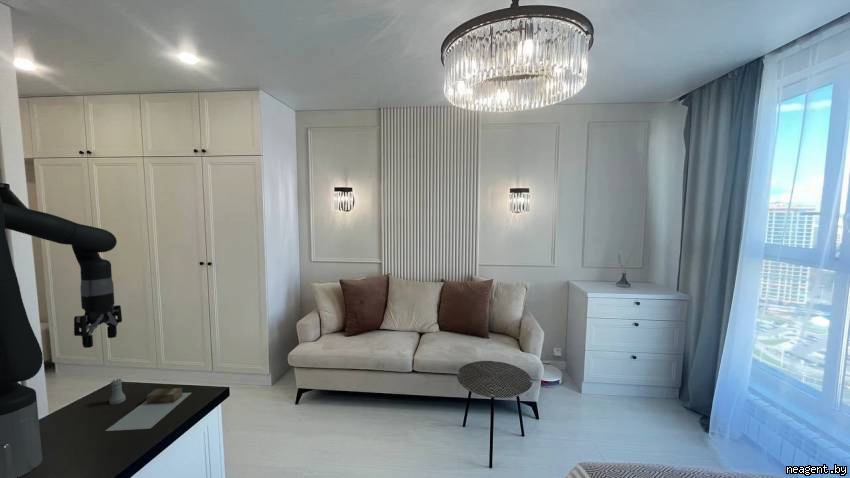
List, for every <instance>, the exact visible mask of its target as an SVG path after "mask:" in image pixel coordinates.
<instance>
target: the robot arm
mask: <svg viewBox="0 0 850 478" xmlns="http://www.w3.org/2000/svg"><path fill="white" fill-rule="evenodd" d="M6 229H7V230H10V231H15V232H18V233H21V234H25V235H27V236H32V237H35V238H39V239H41V240H45V241H49V242H53V243H56V244H61V245H71V247H72V252H73V254H74V256H75V259H76V261H77V263H78V265H79V267H80V287H79V288H80V301H81V302H80V303H81V304H80V305H81V309H82V310H83V311H84V315H76V316H74V318H73V323H74V324H73V336H75V337H81V341H82V344H81V345H82V346H83V348H85V349H87V348H89V349H90V348H92V347H93V346H94V341H93V340H94V336H93V333H94V331H95V329H97V328H98V326H100V325H102V324H105V325H106V326H107V327H106V330H107V333H106V334H107V338H108V339H113V338H116V337H117V335H118V332H117V331H118V329H117V327H118V326H119V324H120V323H122V322H123V317H122V316H123V315H122V308H121V305H116V304H115V290H114V288H115V287H114V282H113V281H114V280H113V275H112V264H111V262H110V260H108V259H104V258H102V257H101V256H100V254H99V253H107V252H110V251H112V250H114V248H115V247H116V245H117V244H118V241H117V238H116V236H115V234H113V233H112V232H110V231H108V230H107V229H105V228H104V229H103V228H100V227H96V226H91V225H86V224H82V223H77V222H75V221H72V220H70V219H67V218H63V217H60V216H57V215H55V214H51V213H48V212H43V211H39V210H34V209H31V208H25V207H20V206H17V205H13V204H9V203H6V202H3V201H2V197H1V196H0V478H17V477H18V478H20V477H23V476H24V475H26V474H28V473H30V472H32V471H34V470H35V469H36V468H37V467H38V466H39V465H40V464H41V463H42V462H43V454H42V452H43V451H42V442H41V431H40V420H39V407H38V400H37V398H38V397H37V391H36V390H35V388H32V387H29V386H26V385H23V384H21V383H20V382H25V381H28V380H31V379H32V378H34V377H35V376H36V375H37V374H38V373H39V371H40V370H41V369H42V365H43V360H44V357H43V351H42V348H41V346H40V343H39V341H38V339H37V336H36V333H34V330H33V327H32V325H31V323H30V320H29V318H28V314H27V311H26V308H25V304H24V302H23V297H22V294H21V288H20V284H19V280H18V276H17V273H16V270H15V267H14V263H13V259H12V255H11V251H10V246H9V244H8V239H7V233H6V232H7V231H6Z"/></svg>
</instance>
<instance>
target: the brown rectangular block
mask: <svg viewBox="0 0 850 478" xmlns="http://www.w3.org/2000/svg"><path fill="white" fill-rule="evenodd" d="M182 393H183V388H182V387H174V388H173V387H172V388H169V387H168V388H155V389H153V390H152V391H151V392H150V393H148V394H147V395H146V396H145V397H146V398H145V399H146V400H147V404H158V403H174V402H176V401H177V400H178V399H179V398H180V397H182Z"/></svg>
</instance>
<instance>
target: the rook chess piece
mask: <svg viewBox="0 0 850 478" xmlns="http://www.w3.org/2000/svg"><path fill="white" fill-rule="evenodd" d="M122 383H123V380H122V378H117V379H116V378H115V379H113V380H111V381H110V384H109V386H111V396H110V398H109V400H108V401H109V403H108V404H109V405H116V404H122V403H123V402H124V401H126V399H127V398H126V395H125V393H124V392H123V389H122V387H123V385H122Z"/></svg>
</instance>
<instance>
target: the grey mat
mask: <svg viewBox="0 0 850 478" xmlns="http://www.w3.org/2000/svg"><path fill="white" fill-rule="evenodd" d="M191 394H192V392H182V397H180V398H179V399H178V400H177V401H176V402H174V403H158V404H147V399H146V400H145V401H144V402H142V403H141V404H139V405H138V406H137V407H135V408H134V409H132V410H131V411H130V412H129V413H127V414H126V415H125V416H123V417H121V419H119V420H117V422H115V423H114V424H112V425H111V426H110V427H109V428H106V430H105V432H111V431H114V432H115V431H128V430H129V431H130V430H131V431H132V430H133V431H134V430H147V429H148V430H150V429H151V428H153V427H154V426H155V425H156V424H157V423H159V422H160V421H161V420H162V419H163V418H165V417H166V416H167V415H168V414H169V413H170V412H172V411H173V410H174V409H175V408H176V407H177V406H178V405H180V403H182V402H183V401H184V400H185V399H186V398H187V397H189V396H190V395H191Z"/></svg>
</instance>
